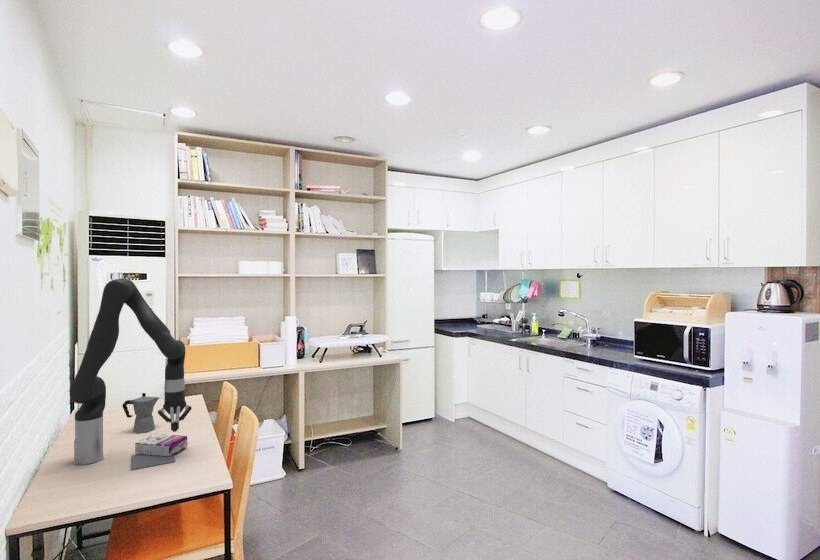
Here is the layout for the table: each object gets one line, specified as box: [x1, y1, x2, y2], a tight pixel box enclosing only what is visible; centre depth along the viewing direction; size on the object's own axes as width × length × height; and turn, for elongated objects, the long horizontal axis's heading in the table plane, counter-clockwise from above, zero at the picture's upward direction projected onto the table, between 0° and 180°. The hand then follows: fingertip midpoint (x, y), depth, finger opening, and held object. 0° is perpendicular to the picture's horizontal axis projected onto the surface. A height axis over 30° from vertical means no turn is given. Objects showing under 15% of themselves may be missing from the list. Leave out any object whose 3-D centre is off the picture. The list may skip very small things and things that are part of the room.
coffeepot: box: [122, 392, 160, 434], centre depth 216 cm, size 15×9×18 cm, turn 129°
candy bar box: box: [134, 433, 188, 457], centre depth 190 cm, size 11×5×16 cm
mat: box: [130, 454, 176, 471], centre depth 182 cm, size 15×16×1 cm
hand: (175, 431), depth 186 cm, fingers closed
